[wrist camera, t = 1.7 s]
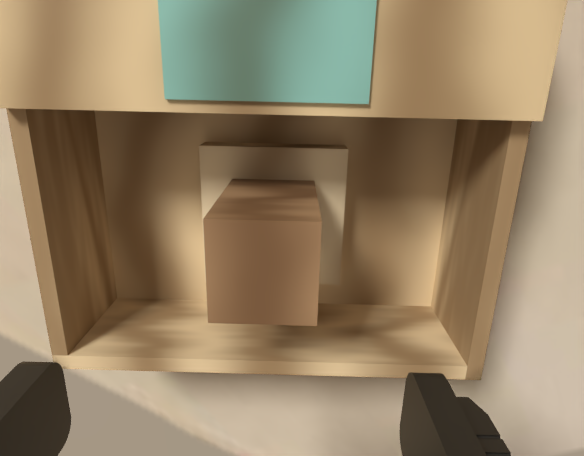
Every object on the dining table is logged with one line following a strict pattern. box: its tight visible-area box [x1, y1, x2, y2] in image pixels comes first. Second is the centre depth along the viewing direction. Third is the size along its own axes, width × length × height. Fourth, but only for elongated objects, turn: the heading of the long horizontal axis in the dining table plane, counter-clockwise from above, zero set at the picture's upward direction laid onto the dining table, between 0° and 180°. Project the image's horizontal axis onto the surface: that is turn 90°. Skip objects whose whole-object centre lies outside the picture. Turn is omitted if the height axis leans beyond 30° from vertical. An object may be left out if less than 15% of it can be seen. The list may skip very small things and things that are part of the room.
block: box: [203, 179, 322, 326], centre depth 20 cm, size 4×4×8 cm
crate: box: [0, 0, 567, 380], centre depth 21 cm, size 22×21×8 cm
